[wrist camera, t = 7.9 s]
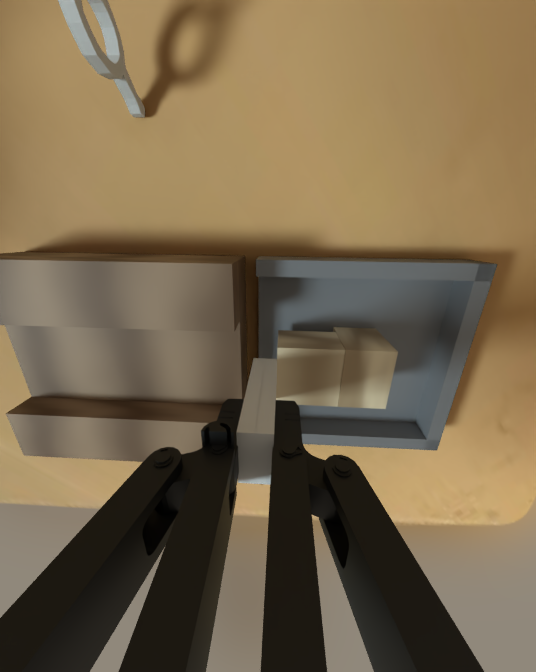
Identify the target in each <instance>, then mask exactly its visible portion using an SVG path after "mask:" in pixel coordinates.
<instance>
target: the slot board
mask: <svg viewBox="0 0 536 672" xmlns="http://www.w3.org/2000/svg"><path fill="white" fill-rule="evenodd" d="M0 325H5V327H6V330H7V332H8V335H9V338H10V340H11V343H12V346H13V348H14V351H15V354H16V356H17V359H18V362H19V364H20V367H21V369H22V372H23V375H24V377H25V380H26V383H27V385H28V388H29V391H30V393H31V396H32V397H31V398H29V399H28V400H26V401H25V402H23V403H21V404H20V405H18V406H17V407H15V408H14V409H12V410H11V411H9V412H8V413H6V415H7V417H8V420H9V422H10V424H11V427H12V429H13V431H14V434H15V436H16V438H17V441H18V443H19V445H20V447H21V450H22V452H23V454H24V455H25V456H44V457H63V458H82V459H100V460H119V461H138V462H144V461H145V459H146V458H147V457H148V456H149V455H150V454H152V453H153V452H154V451H156V450H158V449H160V448H164V447H174V448H176V449H178V450H179V451H180V453H181V454H185V453H190V452H194V451H197V450H199V449H201V448H202V438H201V430H202V428H203V427H204V426H205V425H207V424H208V423H210V422H213V421H217V418H218V415H219V412H220V409H221V407H222V404H223V403H224V402H225V401H226V400H227V399H244V398H245V393H246V389H247V336H246V283H245V256H227V255H171V254H115V253H58V252H15V253H2V254H0Z"/></svg>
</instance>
